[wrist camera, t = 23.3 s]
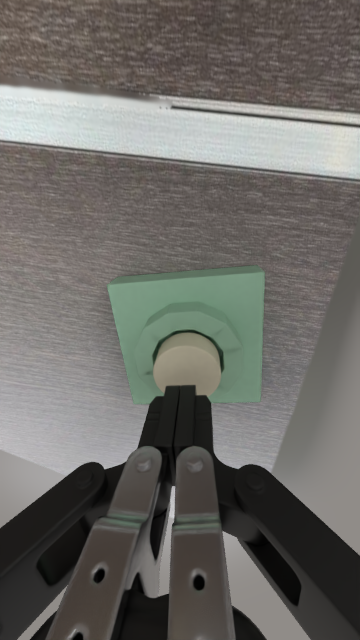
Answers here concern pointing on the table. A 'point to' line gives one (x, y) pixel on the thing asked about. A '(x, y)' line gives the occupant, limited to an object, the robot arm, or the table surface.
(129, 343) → the button block
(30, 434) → the table surface
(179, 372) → the button
